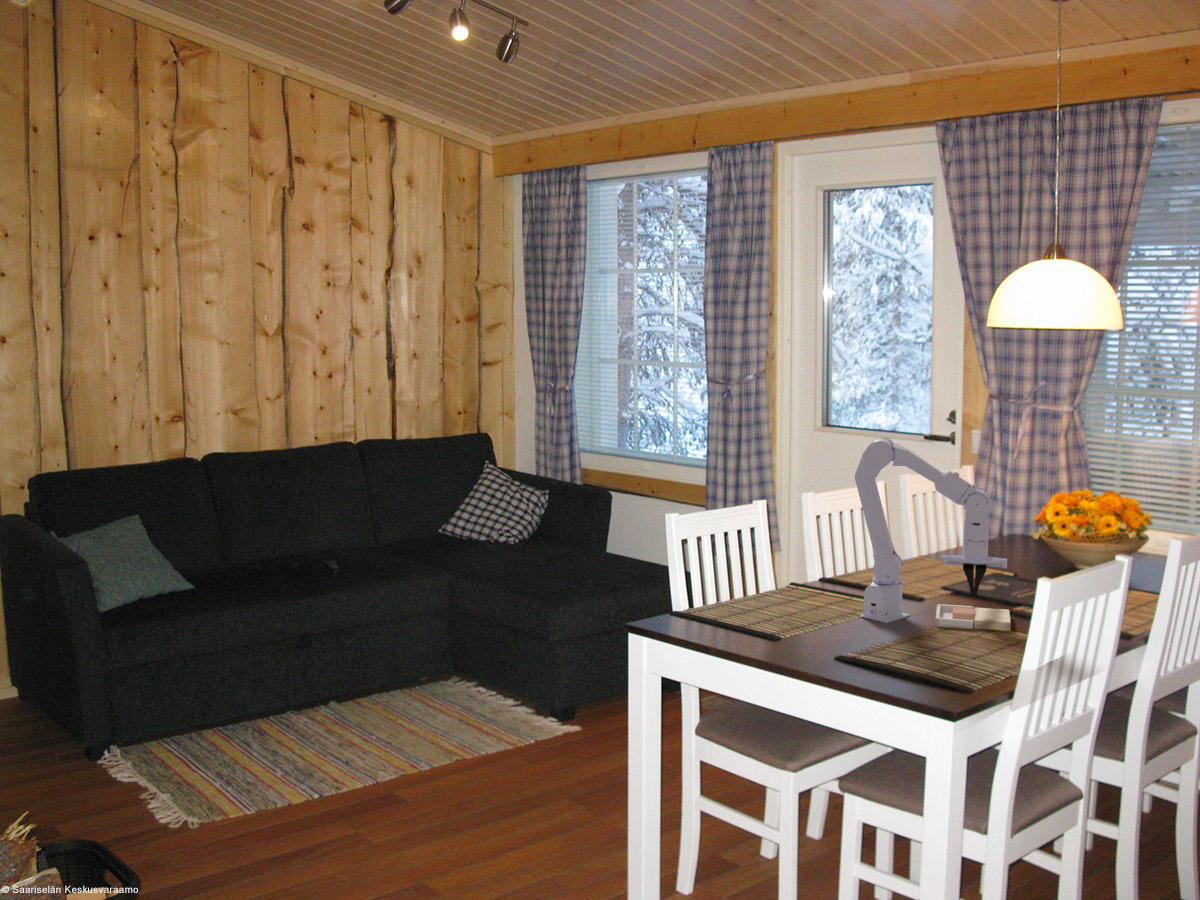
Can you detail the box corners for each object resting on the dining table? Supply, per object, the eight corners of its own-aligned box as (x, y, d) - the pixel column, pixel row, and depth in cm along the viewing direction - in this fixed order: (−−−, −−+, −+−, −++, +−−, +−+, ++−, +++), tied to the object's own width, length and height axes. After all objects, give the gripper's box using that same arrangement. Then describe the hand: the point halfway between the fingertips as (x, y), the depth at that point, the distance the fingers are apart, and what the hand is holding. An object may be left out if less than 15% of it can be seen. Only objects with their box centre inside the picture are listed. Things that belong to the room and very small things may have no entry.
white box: (974, 628, 262) (974, 620, 261) (974, 615, 273) (974, 607, 273) (1010, 630, 259) (1010, 622, 259) (1008, 617, 270) (1009, 609, 270)
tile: (952, 620, 267) (952, 612, 266) (952, 615, 271) (952, 607, 271) (974, 622, 265) (974, 614, 265) (974, 616, 270) (974, 608, 269)
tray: (935, 626, 264) (935, 618, 263) (937, 611, 277) (937, 603, 276) (973, 629, 261) (973, 621, 261) (972, 614, 274) (973, 606, 274)
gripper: (1007, 538, 267) (1005, 593, 268) (944, 534, 271) (942, 589, 273) (1008, 543, 260) (1006, 600, 262) (943, 540, 264) (941, 596, 266)
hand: (973, 595), depth 267 cm, fingers closed
